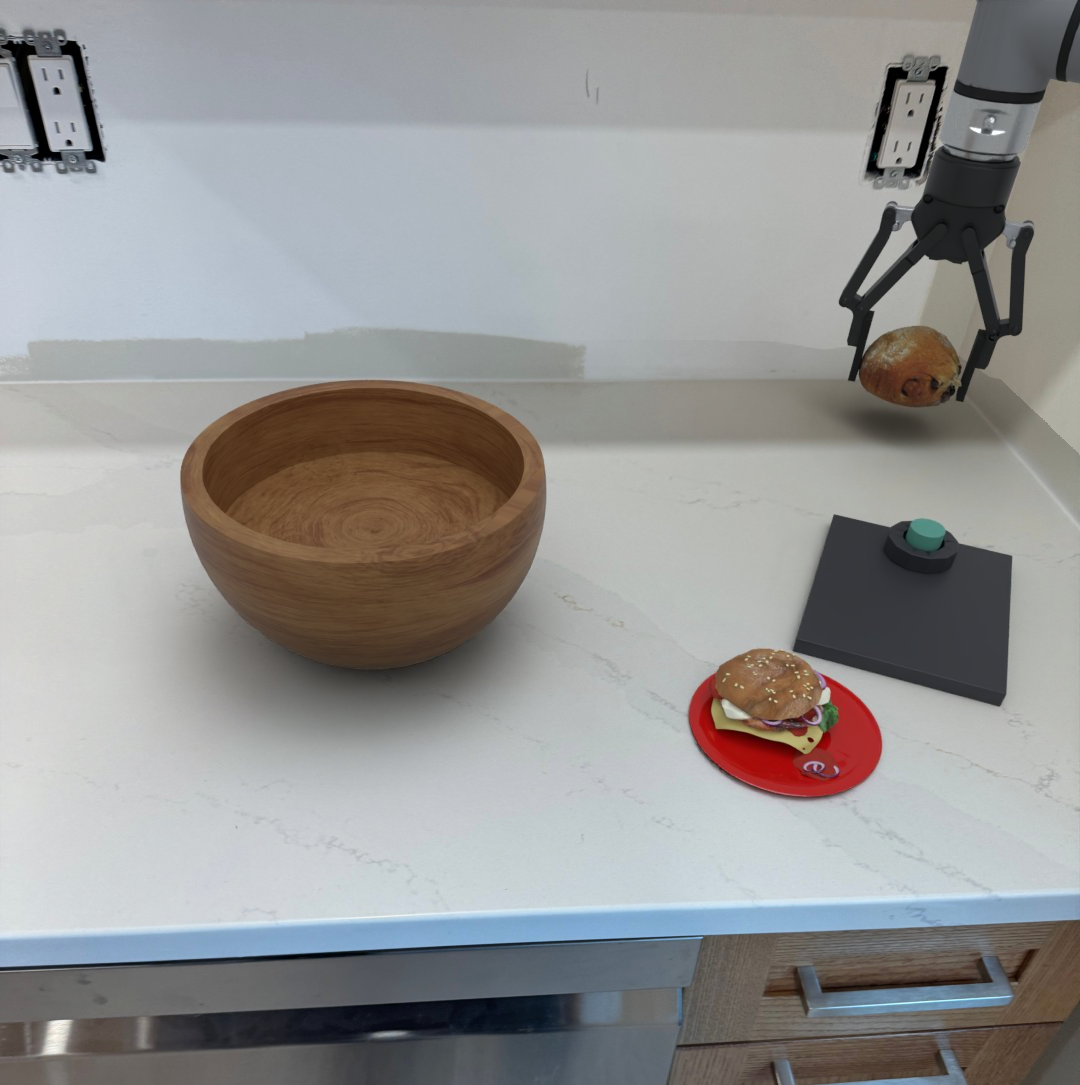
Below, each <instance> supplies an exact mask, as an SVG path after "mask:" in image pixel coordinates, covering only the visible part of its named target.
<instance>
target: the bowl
mask: <svg viewBox="0 0 1080 1085" xmlns="http://www.w3.org/2000/svg"><path fill="white" fill-rule="evenodd" d="M545 466H546V465H545V459H544V455H543V451H542V449H541V446H540V444H539V443H538V441H537V439H536V438H535V437H534V435H533V434H532V432H531V431H530V430H529V429H528V428H527V427H526V426H525V425H524V424H523V423H522V422H521V421H519V420H518V419H517V418H516V417H514V416H513V415H511V413H508V412H507V411H505V410H504V409H502V408H501V407H498V406H496V405H495V404H493V403H491V402H489V401H486V400H484V399H481V398H479V397H476V396H473V395H470V394H468V393H464V392H461V391H458V390H454V389H451V388H447V387H443V386H437V385H433V384H428V383H427V384H426V383H421V382H413V381H403V380H394V379H393V380H392V379H350V380H338V381H329V382H320V383H314V384H308V385H302V386H298V387H297V386H296V387H293V388H289V389H285V390H282V391H278V392H274V393H271V394H268V395H265V396H262V397H259V398H257V399H254V400H252V401H249V402H247V403H244V404H243V405H241V406H240V405H239V406H238V407H236V408H234V409H232V410H230V411H228V412H227V413H225V414H223V415H222V416H220V417H219V418H217V419H216V420H215V421H212V423H210V424H209V425H208V426H207V427H205V428H204V429H203V430H202V431H201V432H200V433H199V434H198V435H197V436H196V438H194V440H193V441H192V442H191V444H190V445H189V447H188V448H187V450H186V452H185V454H184V456H183V459H182V461H181V466H180V471H179V472H180V473H179V477H180V478H179V479H180V496H181V504H182V510H183V516H184V520H185V524H186V527H187V530H188V535H189V537H190V540H191V543H192V545H193V548H194V551H195V553H196V555H197V558H198V559H199V561H200V562H199V563H201V565H202V567H203V569H204V571H205V573H206V575H207V576H208V578H209V580H210V581H211V582H212V584H213V585H214V587H215V589H216V590H217V591H218V593H219V594H220V595H221V596H222V598H223V599H224V600H225V601H226V602H227V604H228V605H229V607H231V608H232V609H233V610H234V611H235V613H237V614H238V615H239V617H241V618H242V619H243V620H244V621H246V623H247V624H248V625H249V626H251V627H252V628H254V629H255V630H256V631H257V632H259V633H260V634H262V635H263V636H264V637H265V638H267V639H269V640H270V641H272V642H273V643H275V644H277V645H279V646H281V647H282V648H283V649H286V650H288V651H290V652H292V653H294V654H296V655H298V656H302V657H303V658H307V659H308V660H312V661H315V662H318V663H320V664H321V663H322V664H325V665H330V666H333V667H338V668H339V667H340V668H345V669H347V668H348V669H355V670H388V669H389V670H390V669H398V668H403V667H408V666H413V665H416V664H420V663H424V662H426V661H430V660H432V659H435V658H439V657H440V656H443V655H445V654H447V653H449V652H450V651H453V650H455V649H457V648H459V647H460V646H462V645H463V644H465V643H467V642H468V641H469V640H471V639H472V638H474V637H475V636H477V635H478V634H479V633H481V632H482V631H483V630H484V629H485V628H486V627H488V626H489V625H490V624H491V623H492V622H493V621H494V620H495V619H496V618H498V616H499V615H500V614H501V613H502V612H503V610H505V608H506V607H507V606H508V605H509V603H510V602H511V601H512V599H514V597H515V595H516V593H517V592H518V591H519V589H520V587H521V586H522V584H523V582H524V581H525V579H526V577H527V575H528V573H529V571H530V569H531V567H532V565H533V562H534V560H535V557H536V554H537V551H538V548H539V545H540V542H541V537H542V535H543V534H542V533H543V529H544V525H545V520H546V519H545V518H546V510H547V509H546V508H547V473H546V467H545Z"/></svg>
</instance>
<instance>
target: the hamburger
mask: <svg viewBox="0 0 1080 1085" xmlns="http://www.w3.org/2000/svg"><path fill="white" fill-rule="evenodd" d="M688 717H689V724H690V729H691V730H692V733H693V736H694V738H695V740H696V742H697V744H698V745H699V746H700V748H701V749H702V750H703V752H704V753H705V754H706V755H707V756H708V757H709V759H711V761H713V762H714V763H715V764H716V765H717V766H718V767H720V769H722V770H724V771H725V772H726V773H728V774H730V775H731V776H733V777H735V778H736V779H738V780H740V781H741V782H744V783H746V784H748V785H751V786H753V787H756V788H758V789H761V790H765V791H767V792H771V793H775V794H779V795H785V796H793V797H822V796H829V795H833V794H838V793H841V792H844V791H847V790H849V789H851V788H854V787H856V786H857V785H859V784H860V783H862V782H863V781H865V780H866V779H867V778H868V777H869V776H870V775H871V774H872V773H873V772H874V770H875V769H876V768H877V766H878V764H879V762H880V760H881V756H882V753H883V752H882V751H883V738H882V732H881V729H880V726H879V724H878V722H877V719H876V718H875V716H874V714H873V712H872V711H871V710H870V709H869V707H868V705H866V703H864V701H863V700H862V699H861V698H860V697H859V696H857V695H856V694H855V693H854V692H853V691H851V689H849V688H848V687H847V686H845V685H843V684H842V683H840V682H838V681H837V680H835V679H833V678H831V677H830V676H827V675H825V674H823V673H821V672H818V671H817V670H815V669H813V668H812V667H811V665H810V664H809V663H808V662H807V661H806V660H804V659H803V658H801V657H799V656H798V653H792V652H791V653H790V652H788V651H787V650H786V651H785V650H784V649H783V648H780V649H772V648H765V647H764V646H762V647H756V648H753V649H750V650H748V651H746V652H744V653H741V654H738V655H736V656H734V657H732V658H730V659H729V660H726V661H725V662H723V663H722V664H720V665H719V666H718V668H717V670H716V672H715V673H713V674H711V675H709V676H708V677H707V678H705V680H703V681H702V683H700V685H699V686H698V687H697V688H696V689H695V691H694V693H693V695H692V697H691V700H690V704H689V711H688Z"/></svg>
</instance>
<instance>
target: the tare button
mask: <svg viewBox="0 0 1080 1085" xmlns="http://www.w3.org/2000/svg"><path fill="white" fill-rule="evenodd" d="M911 521H912V522H911V524H910V527H909V529H908V532H907V535H906V538H905V539H906V542H907V543H908V544H909V545H911V546H913V547H915V548H918V549H922V550H926V551H935V550H938V549H939V548H940V546H941V543H942V541H943V538H944V536H945V533H946V530H947V529H946V528H945V527H944V525H943V524H941V523H940V522H938V521H936V520H934V519H930V518H923V517H922V518H915V519H913V520H911Z"/></svg>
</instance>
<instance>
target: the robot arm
mask: <svg viewBox="0 0 1080 1085" xmlns="http://www.w3.org/2000/svg"><path fill="white" fill-rule="evenodd" d="M975 2H976V5H975V9H974V12H973V15H972V16H973V17H972V20H971V23H970V28H969V30H968V31H969V32H968V35H967V39H966V42H965V46H964V50H963V54H962V57H961V61H960V64H959V68H958V73H957V75H956V79H955V82H954V85H953V89H952V90H951V94H950V98H949V101H948V105H947V108H946V112H945V115H944V119H943V123H942V126H941V129H940V134H939V137H938V140H940V143H941V144H942V145H941V146H940V147H938V148H937V149H936V150H935V151H934V154H933V156H932V161H931V164H930V168H929V171H928V175H927V178H926V182H925V185H924V188H923V192H922V196H921V198H920V199H919V201H918V202H917V203H916V205H915V206H907V205H899V204H898V202H896V201H894V200H890V201H888V202H887V203H886V204H885V207H884V208H883V211H882V214H881V219H880V223H879V228H878V230H877V232H876V234H875V235H874V237H873V239H872V240H871V241H870V243H869V245H868V247H867V249H866V250H865V252H864V254H863V256H862V257H861V259H860V261H859V262H858V264H857V266H856V268H855V269H854V271H853V273H852V274H851V276H850V278H849V279H848V281H847V282H846V285H845V286H844V288H843V290H842V292H841V294H840V296H839V299H838V305H839V307H841V308H845V309H847V310H849V311H851V313H852V319H851V323H850V328H849V330H848V335H847V337H846V338H847V339H846V344H847V346H848V347H855V348H856V349H855V352H854V356H853V359H852V363H851V366H850V370H849V374H848V377H847V381H848V382H854V383H855V382H856V379H857V376H858V375H859V366H860V362H861V359H862V357H863V355H864V353H865V349H866V345H867V341H868V337H869V334H870V330H871V328H872V323H873V320H874V316H875V312H876V311H875V310H872V309H873V308H874V307H875V305H877V303H878V302H879V301H880V300H881V299H882V298H883V297H884V296H885V295H886V294H887V293H888V292H889V291H890V290H891V289H892V288H893V287H894V286H895V285H896V284H897V283H898V282H899V281H900V280H901V279H902V278H903V277H904V276H905V275H906V274H907V273H908V272H909V271H910V270H911V269H912V268H913V267H914V266H916V265H917V263H919V262H920V261H921V260H922V258H923V257H924V256H925V257H927V258H928V260H930V261H937V262H938V261H948V262H950V263H951V264H957V265H963V263H968V268H969V271H970V274H971V276H972V281H973V284H974V285H973V286H974V289H975V292H976V297H977V301H978V305H979V309H980V313H981V317H982V321H983V324H984V325H983V326H984V328H985V329H982V328H978V330H977V333H976V335H975V338H974V341H973V344H972V347H971V349H970V353H969V355H968V358H967V361H966V363H965V367H964V369H963V372H962V375H961V377H960V381H961V385H962V386H961V387H959V386H957V389H956V394H955V402H961V403H964V400H965V398H966V395H967V393H968V389H969V387H970V384H971V381H972V379H973V376H974V373H975V370H976V369H978V370H986V369H987V368H988V366H989V365H990V362H991V359H992V357H993V353H994V351H995V349H996V346H997V344H998V341H999V340H1000V339H1001V338H1003V337H1007V336H1011V337H1017V336H1019V335H1021V333H1022V332H1023V322H1024V321H1023V320H1024V304H1025V303H1024V302H1025V282H1026V281H1025V280H1026V279H1025V278H1026V256H1027V253H1028V251H1029V248H1030V246H1031V243H1032V241H1033V239H1034V236H1035V223H1034V222H1033V221H1032V220H1030V219H1027V220H1025V221H1023V222H1019V221H1014V220H1008V219H1007V217H1006V208H1007V205H1008V202H1009V200H1010V197H1011V194H1012V190H1013V187H1014V185H1015V182H1016V178H1017V176H1018V173H1019V170H1020V168H1021V163H1022V162H1021V161H1020V157H1019V156H1018V155H1019V154H1020V153H1023V152H1024V151H1025V150H1026V149H1027V147H1028V144H1029V141H1030V137H1031V135H1032V131H1033V129H1034V126H1035V124H1036V120H1037V117H1038V115H1039V111H1040V108H1041V106H1042V103H1043V100H1044V97H1045V94H1046V90H1047V87H1048V86H1049V83H1050V81H1051V80H1054V81H1055V80H1056V81H1058V82H1063V83H1067V82H1070V83H1075V84H1080V0H976V1H975ZM906 222H911V225H912V228H913V230H914V234H915V236H916V239H915V240H914V241H913V242H911V244H909V246H908V247H907V249H906V250H905V251H904V252H903V253H902V254H901V255H900V256H899V257H898V258H897V259H896V260H895V261H894V263H892V265H891V266H890V267H889V268H888V269H887V270H886V271H885V272H884V273H883V274H882V275H881V276H880V277H879V278H878V279H877V280H876V281H875V282H874V283H873V284H872V285H871V286H870V287H869V288H868V289H867V290H866V292H865V293H864V294H863V295H861V294H859V293H858V291H859V290H860V288H861V286H862V285H863V283H864V281H865V280H866V278H867V276H868V275H869V273H870V271H871V270H872V268H873V266H874V265H875V263H876V261H878V259H879V256H881V253H882V252H883V250H884V248H885V247H886V245H887V243H888V242H889V239H890V238H891V234H892V232H899V231H900V230H901V229H902V227H903V226H904V224H905V223H906ZM1001 235H1004V236H1005V238H1006V243H1005V245H1006V247H1007V248H1008V249H1010V250H1011V260H1010V283H1009V284H1010V285H1009V306H1008V307H1009V308H1008V310H1009V311H1008V314H1009V315H1008V318H1002V319H1001V316H1000V312H999V308H998V304H997V300H996V294H995V292H994V288H993V283H992V278H991V275H990V271H989V267H988V263H987V257H986V251H985V249H986V248H987V247H988V246H990V245H991V244H992V243H994V241H995V240H996V239H998V238H999V237H1000V236H1001Z"/></svg>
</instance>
